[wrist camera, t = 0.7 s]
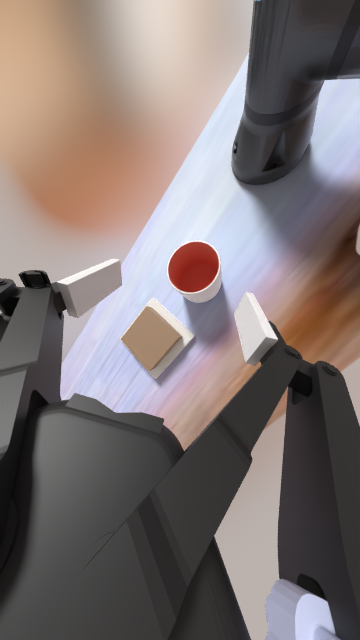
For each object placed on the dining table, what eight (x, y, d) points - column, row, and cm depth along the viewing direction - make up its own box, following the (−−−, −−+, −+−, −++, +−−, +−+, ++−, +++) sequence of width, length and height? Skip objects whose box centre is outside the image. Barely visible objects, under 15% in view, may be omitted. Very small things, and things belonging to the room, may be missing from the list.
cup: (229, 288, 33) (232, 271, 23) (193, 311, 35) (182, 304, 25) (207, 256, 35) (201, 228, 25) (174, 279, 37) (157, 262, 27)
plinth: (154, 298, 38) (146, 294, 34) (195, 335, 34) (191, 336, 30) (123, 338, 41) (111, 339, 36) (157, 377, 37) (149, 384, 32)
